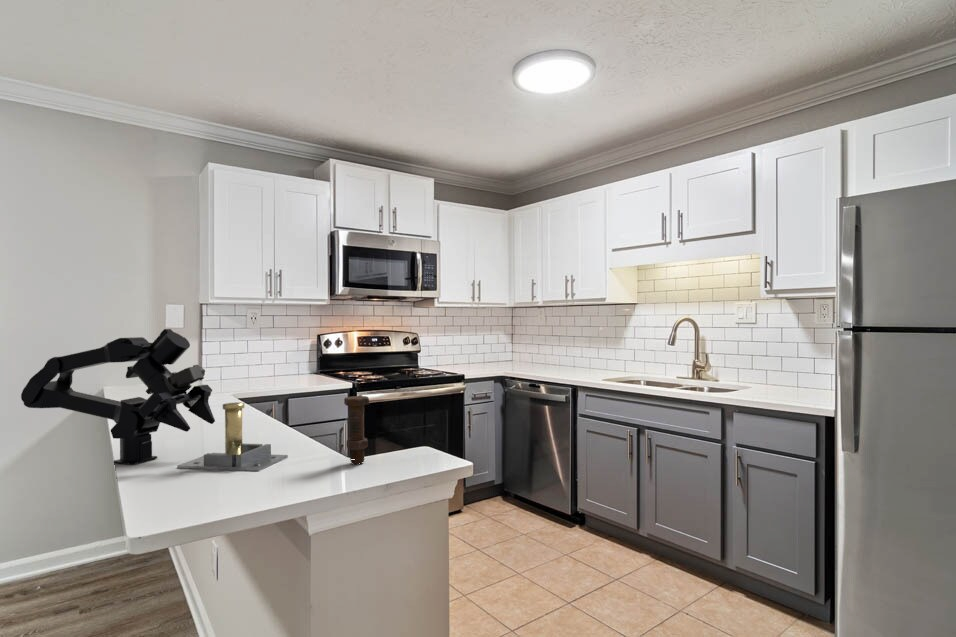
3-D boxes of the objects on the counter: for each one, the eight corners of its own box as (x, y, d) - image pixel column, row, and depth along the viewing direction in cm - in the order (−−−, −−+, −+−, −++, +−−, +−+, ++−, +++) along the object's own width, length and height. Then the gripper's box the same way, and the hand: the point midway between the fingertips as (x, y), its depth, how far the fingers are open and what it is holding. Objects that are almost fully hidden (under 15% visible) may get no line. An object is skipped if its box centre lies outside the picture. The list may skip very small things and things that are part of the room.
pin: (219, 462, 120) (219, 405, 120) (227, 457, 125) (227, 402, 125) (240, 462, 120) (239, 405, 120) (247, 457, 125) (247, 402, 125)
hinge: (177, 468, 118) (177, 454, 118) (213, 455, 130) (213, 442, 130) (258, 471, 115) (258, 456, 115) (287, 457, 127) (287, 444, 127)
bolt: (373, 460, 122) (372, 395, 123) (366, 466, 117) (365, 398, 118) (348, 460, 123) (348, 395, 123) (341, 466, 118) (340, 398, 118)
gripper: (152, 356, 115) (199, 408, 114) (205, 352, 133) (246, 396, 132) (118, 392, 116) (164, 444, 114) (176, 383, 134) (216, 427, 133)
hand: (201, 426), depth 123 cm, fingers open, 9 cm apart
